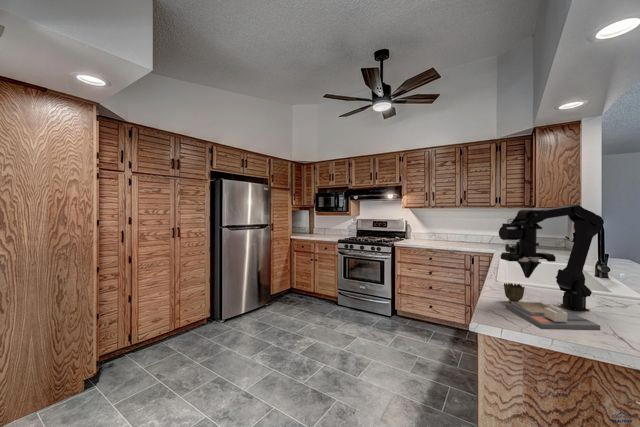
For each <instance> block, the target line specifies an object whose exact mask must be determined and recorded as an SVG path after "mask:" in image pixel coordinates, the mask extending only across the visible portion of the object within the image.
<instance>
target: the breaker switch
mask: <svg viewBox="0 0 640 427" xmlns="http://www.w3.org/2000/svg"><path fill="white" fill-rule="evenodd" d="M547 305H548V308H544V316H545V317H547V318H549V319H551V320H553V321H555V322H567V313H566V312H564V311H563V310H562V309H563V308H562V309H560V308H561V307H560V308H558V307H559V306H558V307H555V306H553V305H554V304H547Z"/></svg>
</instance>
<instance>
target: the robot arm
mask: <svg viewBox="0 0 640 427" xmlns="http://www.w3.org/2000/svg"><path fill="white" fill-rule="evenodd" d="M565 216H566V217H568V218H569V220H570V221H571V222H573V229H574V231H575V238H574V242H573V245H572V247H571V251H570V253H569V258H568V261H567V264H566V267H565V268H563V269H558V270H557V275H556V276H555V279H556V280H555V281H556V284H557V285H558V288H559V291H562V292H563V296H562V303H560V306H562V307H564V308H566V309H568V310H571V311H576V312H577V311H580V312H581V311H582V312H589V311H590V309H589V308H586V307H587V298H588V297H591V295H592V293H593V292H592V290H591V289H590V288H589V287H588V286H587V285H586V277H585V274H584V272H583V271H584V268H585V264H586V262H587V257H588V255H589V250H590V248H591V244H592V242H593V239H594V237H595V236H597V234H599V233H600V232H601V230H602V228H603V226H604V225H605V224H604V222H605V220H604V218H603V217H602V216H601V215H599V214H597V213H595V212H593V211H591V210H588V209H586V208H584V207H583V206H581V205H579V204H566V205H561V206H555V207H549V208H543V209H519V210H518V212H517V213H516V216H515V217H514V219H513V220H512V221H511V222H510V223H501V224H502V225H501V227H499V231H498V236H499V239H501V240H502V241H516V243H515V245H513V244H511V243H506V244H505V247H504V248H505V249H504V250H505V252H502V253H501V254H500V260H503V261H507V262H517V263H518V264H519V265H520V268H521V270H522V273H523V276H524V278H526V279H530V277H531V275H532V274H533V272H534V271H535V270H536V269H537V267H538V266H539V265H540V264H542V262H541V261H539V260H546V261H547V262H552V263H553V262H556V256H555V255H554V253H549V252H537V247H539V246H540V243H539V242H537V232H538V231H537V230H542V229H543V227H542V226H541V225H540V224H538V223H542V222H544V221H545V220H547V219H552V218H553V219H554V218H560V217H565Z"/></svg>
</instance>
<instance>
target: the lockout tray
mask: <svg viewBox="0 0 640 427" xmlns="http://www.w3.org/2000/svg"><path fill="white" fill-rule="evenodd" d="M510 304H511V305H513V306H515V307H517V308H519V309H520V310H522V311H524V312H526V313H528V314H530V315H532V316H544V308H548V305H549V304H546V303H543V302H542V301H519V302H512V303H510Z"/></svg>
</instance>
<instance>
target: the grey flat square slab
mask: <svg viewBox="0 0 640 427" xmlns="http://www.w3.org/2000/svg"><path fill="white" fill-rule="evenodd" d="M505 304H506V305H505V307H506V309H508V310H509V311H512V312H513V313H515V314H517V315H518V316H520V317H522V318H523V319H525V320H527V321H528V322H530V323H532V324H534V325H536V327H539V328H540V329H547V330H548V329H550V330H551V329H552V330H553V329H554V330H555V329H556V330H590V331H591V330H592V331H593V330H596V331H600V330H601V325H600V324H598V323H596V322H594V321H591V320H589V319H588V318H585V317H583V316H580V315H578V314H576V313H574V312H571V311H569V310H567V309H564V308H562V307H560V306H558V305H556V304H552V305H553V306H555V307H558V308H560V309H562V310H563V311H564V312H566V313H567V322H555V321H553V320H551V319H549V318H547V317H545V316H532V315H530V314H528V313H526V312H524V311H522V310H520V309H519V308H517V307H515V306H513V305H511V304H512V303H505Z"/></svg>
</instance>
